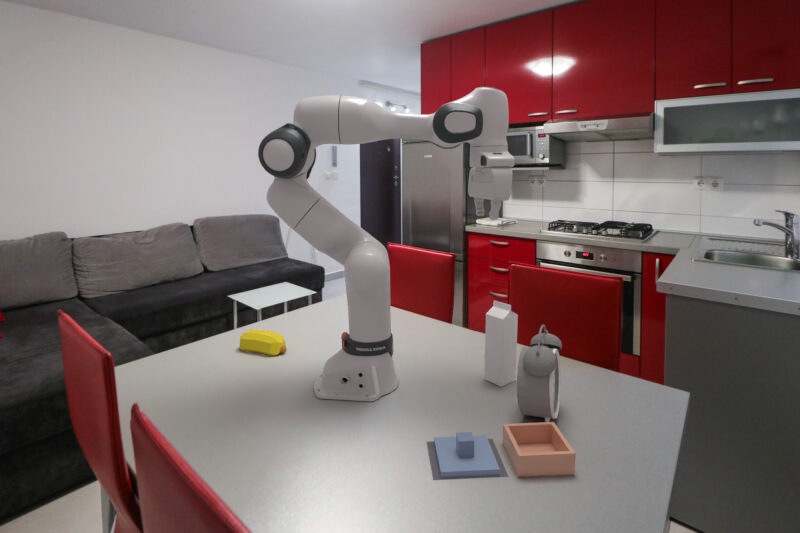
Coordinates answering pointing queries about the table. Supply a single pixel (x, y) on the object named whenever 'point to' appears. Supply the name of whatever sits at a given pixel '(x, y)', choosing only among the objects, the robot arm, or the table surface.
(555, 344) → the alarm clock
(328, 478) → the table surface
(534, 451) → the dish
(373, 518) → the table surface
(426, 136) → the robot arm
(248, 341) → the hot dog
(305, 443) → the table surface
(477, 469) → the lid
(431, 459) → the mat
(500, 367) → the milk
